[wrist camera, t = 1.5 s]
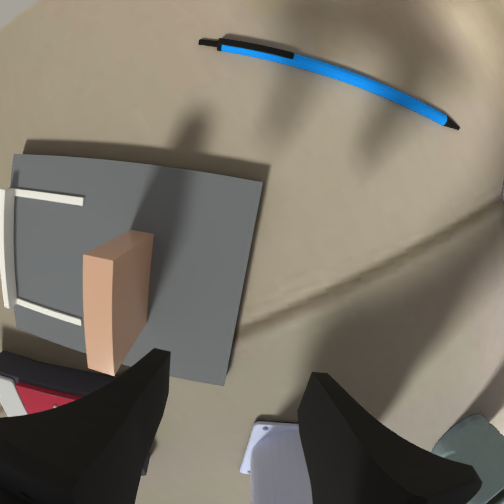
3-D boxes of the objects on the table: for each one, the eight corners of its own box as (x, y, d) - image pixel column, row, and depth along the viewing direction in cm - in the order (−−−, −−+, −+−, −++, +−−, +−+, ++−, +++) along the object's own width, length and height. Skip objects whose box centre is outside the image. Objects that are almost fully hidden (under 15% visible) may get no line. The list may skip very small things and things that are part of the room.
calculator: (145, 482, 20) (22, 449, 19) (152, 451, 25) (36, 426, 23) (116, 404, 18) (-21, 370, 17) (130, 371, 22) (2, 348, 21)
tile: (153, 233, 17) (113, 260, 11) (146, 323, 19) (114, 376, 13) (128, 229, 17) (80, 253, 11) (124, 317, 19) (85, 367, 13)
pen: (202, 39, 16) (199, 32, 15) (457, 124, 17) (466, 123, 16) (198, 50, 16) (196, 43, 15) (456, 135, 17) (465, 134, 16)
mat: (261, 182, 18) (264, 182, 16) (224, 377, 21) (223, 396, 19) (22, 154, 17) (3, 153, 14) (23, 323, 20) (9, 333, 18)
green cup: (411, 467, 26) (444, 536, 14) (457, 408, 23) (510, 479, 12) (459, 458, 27) (493, 512, 15) (501, 404, 24) (547, 457, 13)
